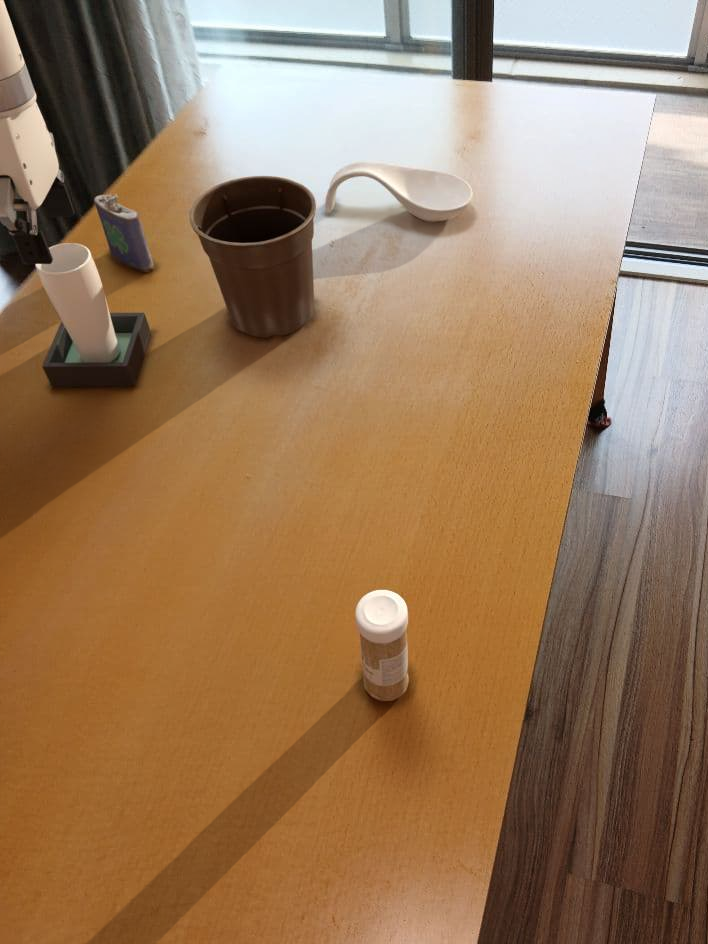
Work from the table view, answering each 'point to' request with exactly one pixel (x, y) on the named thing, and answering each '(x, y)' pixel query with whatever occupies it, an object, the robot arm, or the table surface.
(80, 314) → the white tapered cylinder
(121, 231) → the flask
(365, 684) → the sprinkles bottle
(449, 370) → the table surface
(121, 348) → the cup holder
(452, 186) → the spoon rest
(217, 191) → the plant pot
